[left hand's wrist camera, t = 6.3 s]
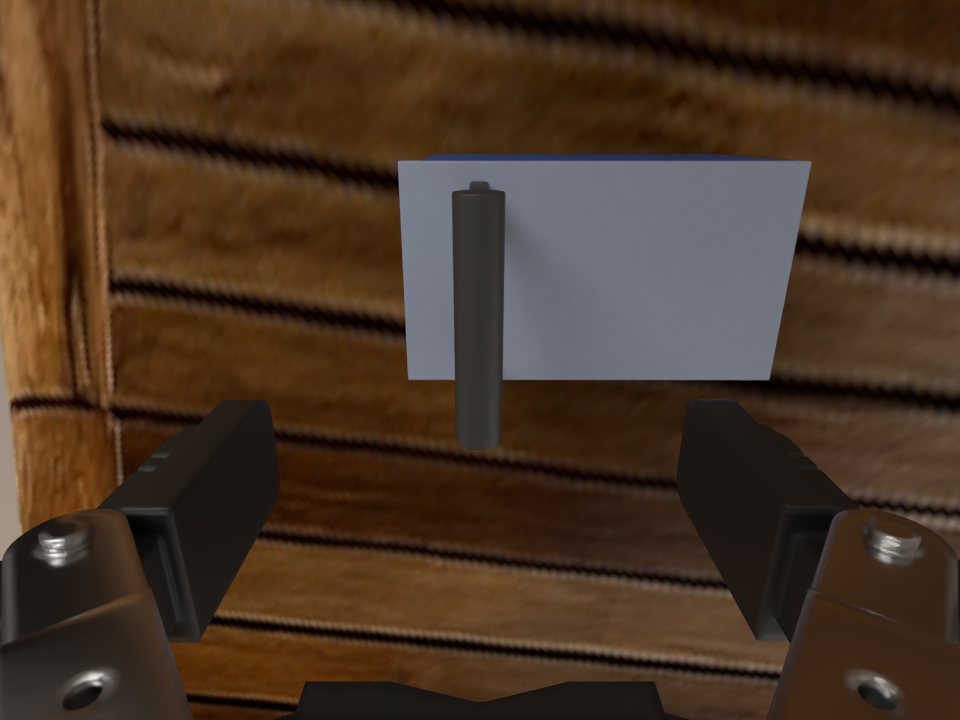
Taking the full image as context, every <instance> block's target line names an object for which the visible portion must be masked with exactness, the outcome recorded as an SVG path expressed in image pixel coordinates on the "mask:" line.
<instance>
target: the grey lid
mask: <svg viewBox="0 0 960 720" xmlns="http://www.w3.org/2000/svg"><path fill="white" fill-rule="evenodd" d="M810 168H811V162H810V161H399V162H398V174H399V195H400V216H401V237H402V258H403V278H404V299H405V320H406V341H407V362H408V379H409V380H455V416H456V441H457V442H458V444H459V445H461V446H462V447H465V448H467V449H472V450H485V449H490V448H493V447H495V446H497V445H498V444H499V443H500V442H501V440H502V395H503V380H769V379H770V374H771V368H772V363H773V358H774V353H775V348H776V343H777V338H778V332H779V327H780V322H781V317H782V312H783V307H784V302H785V296H786V291H787V286H788V281H789V276H790V271H791V265H792V260H793V255H794V250H795V245H796V240H797V235H798V229H799V224H800V219H801V214H802V209H803V204H804V199H805V193H806V188H807V183H808V178H809V173H810Z"/></svg>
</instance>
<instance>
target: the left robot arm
mask: <svg viewBox="0 0 960 720" xmlns="http://www.w3.org/2000/svg"><path fill="white" fill-rule="evenodd" d="M677 485H678V492H679V497H680V500H681V503H682V505H683V507H684V509H685V510H686V512H687V514H688V516H689V518H690V519H691V521H692V523H693V525H694V527H695V529H696V530H697V532H698V534H699V536H700V538H701V539H702V541H703V543H704V545H705V547H706V549H707V550H708V552H709V554H710V556H711V558H712V559H713V561H714V563H715V565H716V567H717V569H718V570H719V572H720V574H721V576H722V578H723V579H724V581H725V583H726V585H727V587H728V589H729V590H730V592H731V594H732V596H733V598H734V599H735V601H736V603H737V605H738V607H739V609H740V610H741V612H742V614H743V616H744V618H745V619H746V621H747V623H748V625H749V627H750V629H751V630H752V632H753V634H754V636H755V638H756V639H757V640H788V641H789V642H790V644H791V645H790V648H789V651H788V654H787V657H786V660H785V663H784V666H783V670H782V673H781V676H780V679H779V682H778V685H777V688H776V691H775V695H774V698H773V701H772V704H771V707H770V710H769V713H768V716H767V720H960V560H957V556H956V554H955V552H954V550H953V549H952V548H951V546H950V545H949V544H948V543H947V542H946V541H945V540H944V539H942V538H941V537H940V536H938V535H937V534H936V533H934V532H933V531H931V530H929V529H928V528H926V527H924V526H922V525H920V524H918V523H916V522H914V521H912V520H909V519H907V518H904V517H901V516H898V515H896V514H892V513H888V512H884V511H879V510H873V509H860V508H859V507H858V506H857V505H856V504H855V503H854V502H853V501H852V500H851V499H850V498H849V497H848V496H847V495H846V494H845V493H844V492H843V491H842V490H841V489H840V488H839V487H838V486H837V485H836V484H835V483H834V482H833V481H832V480H831V479H830V478H828V477H827V476H826V475H825V474H824V473H823V472H822V471H821V470H818V469H817V466H816V465H815V464H814V463H813V462H812V461H811V460H810V459H809V458H808V457H804V453H803V452H802V451H801V450H800V449H799V448H798V447H797V446H796V445H795V444H794V443H793V442H792V441H791V440H790V439H789V438H787V437H786V436H784V435H782V434H780V433H778V432H776V431H774V430H773V429H771V428H769V427H767V426H765V425H763V424H757V423H756V422H755V420H754V419H753V418H752V417H751V416H750V415H749V414H748V413H747V412H746V411H745V410H744V409H743V408H742V407H741V406H740V405H739V404H738V403H737V402H736V401H735V400H733V399H692V400H691V401H690V402H689V404H688V406H687V409H686V414H685V421H684V428H683V435H682V442H681V449H680V456H679V463H678V471H677ZM279 486H280V472H279V465H278V458H277V451H276V444H275V437H274V430H273V423H272V416H271V411H270V407H269V405H268V403H267V402H266V401H265V400H223V401H221V402H220V403H219V404H218V405H217V406H216V407H215V408H214V409H213V410H212V411H211V412H210V413H209V414H208V416H207V417H206V418H205V419H204V420H203V421H202V422H201V423H200V424H199V425H193V426H191V427H189V428H187V429H185V430H184V431H182V432H180V433H178V434H176V435H174V436H173V437H171V438H169V439H168V440H167V441H166V442H164V443H163V444H162V445H161V446H160V447H159V448H158V449H157V450H156V451H155V452H154V453H153V454H152V458H148V459H147V460H146V461H145V462H144V463H143V464H142V465H141V466H140V467H139V468H138V471H135V472H134V473H132V474H131V475H130V476H129V477H128V478H127V479H126V480H125V481H124V482H123V483H122V484H121V485H120V486H119V487H118V488H117V489H116V490H115V491H114V492H113V493H112V494H111V495H110V496H109V497H108V498H107V499H106V500H105V501H104V502H103V503H102V504H100V505H99V506H98V507H97V508H96V509H87V510H81V511H76V512H72V513H68V514H64V515H62V516H59V517H56V518H53V519H51V520H48V521H46V522H44V523H42V524H40V525H38V526H36V527H34V528H32V529H31V530H29V531H27V532H26V533H24V534H23V535H22V536H20V537H19V538H18V539H16V540H15V541H14V542H13V543H12V544H11V545H10V546H9V548H8V549H7V550H6V552H5V554H4V556H3V560H2V561H0V720H193V716H192V713H191V710H190V707H189V704H188V701H187V698H186V695H185V691H184V688H183V685H182V682H181V679H180V676H179V673H178V670H177V666H176V663H175V660H174V657H173V654H172V651H171V648H170V645H169V642H199V641H200V639H201V637H202V635H203V633H204V632H205V630H206V628H207V626H208V624H209V623H210V621H211V619H212V617H213V615H214V614H215V612H216V610H217V608H218V606H219V605H220V603H221V601H222V599H223V597H224V596H225V594H226V592H227V590H228V588H229V587H230V585H231V583H232V581H233V579H234V578H235V576H236V574H237V572H238V571H239V569H240V567H241V565H242V563H243V562H244V560H245V558H246V556H247V554H248V553H249V551H250V549H251V547H252V545H253V544H254V542H255V540H256V538H257V536H258V535H259V533H260V531H261V529H262V527H263V526H264V524H265V522H266V520H267V518H268V517H269V515H270V513H271V511H272V509H273V508H274V506H275V504H276V501H277V498H278V493H279ZM274 720H686V719H684V718H681V717H678V716H675V715H671V714H667V713H664V710H663V707H662V704H661V701H660V698H659V694H658V691H657V688H656V685H655V682H565V683H561V684H557V685H553V686H549V687H545V688H541V689H537V690H532V691H528V692H524V693H520V694H516V695H512V696H508V697H504V698H500V699H496V700H492V701H486V702H474V701H468V700H464V699H460V698H456V697H452V696H448V695H444V694H440V693H436V692H432V691H428V690H423V689H419V688H415V687H411V686H407V685H403V684H399V683H395V682H305V685H304V688H303V691H302V694H301V698H300V701H299V704H298V707H297V710H296V713H293V714H289V715H285V716H282V717H279V718H276V719H274Z"/></svg>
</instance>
